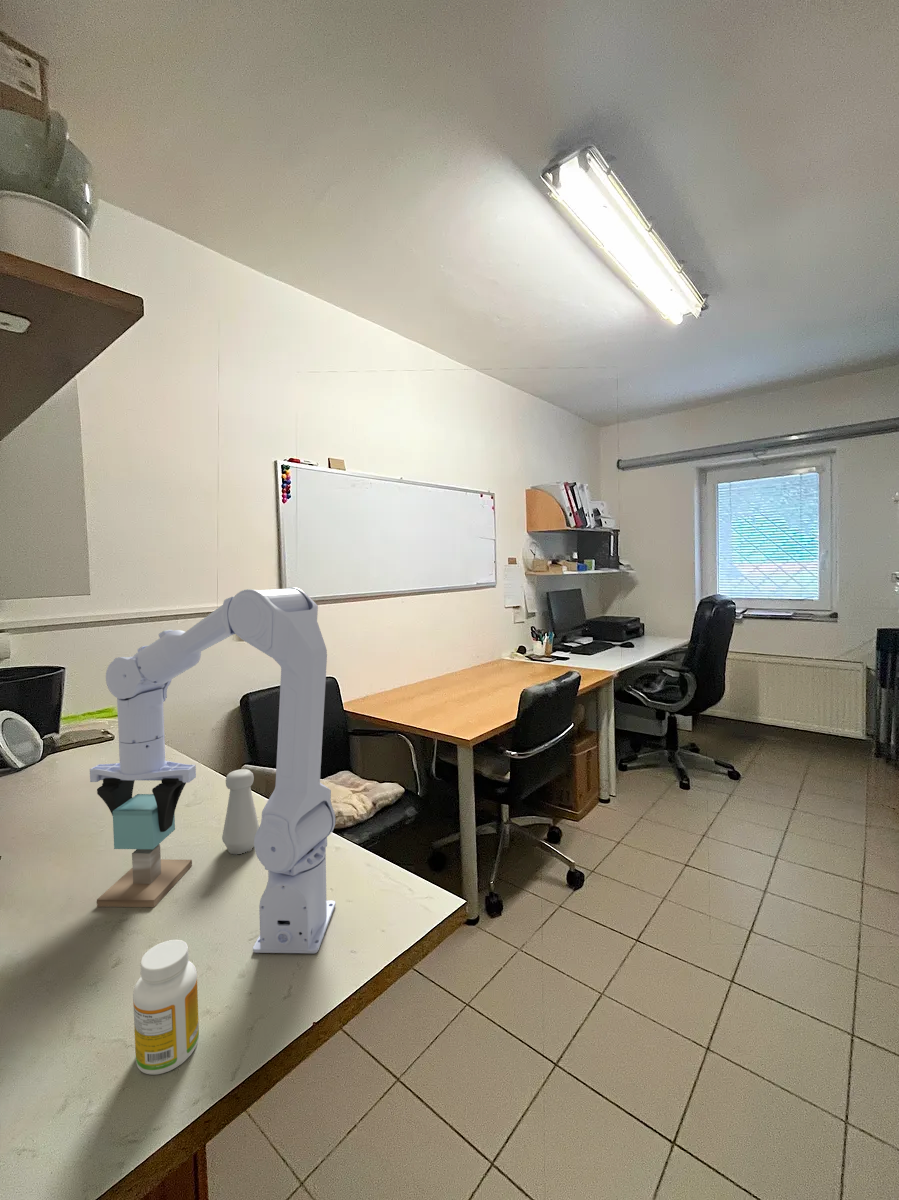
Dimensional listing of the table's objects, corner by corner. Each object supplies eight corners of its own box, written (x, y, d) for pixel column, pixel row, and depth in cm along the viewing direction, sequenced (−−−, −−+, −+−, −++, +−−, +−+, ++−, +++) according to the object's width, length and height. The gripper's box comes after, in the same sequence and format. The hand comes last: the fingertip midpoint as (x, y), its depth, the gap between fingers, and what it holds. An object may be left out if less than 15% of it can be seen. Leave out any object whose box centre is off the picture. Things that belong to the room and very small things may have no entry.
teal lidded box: (153, 849, 73) (151, 811, 73) (114, 849, 73) (112, 811, 73) (175, 829, 79) (173, 794, 78) (138, 829, 79) (137, 794, 78)
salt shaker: (246, 859, 83) (244, 780, 82) (214, 855, 84) (212, 777, 83) (266, 841, 89) (264, 766, 88) (236, 837, 90) (234, 764, 89)
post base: (154, 907, 71) (152, 868, 71) (97, 906, 71) (95, 867, 71) (191, 865, 81) (190, 831, 81) (141, 865, 81) (140, 831, 81)
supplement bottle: (182, 1016, 54) (179, 926, 53) (209, 1044, 51) (207, 949, 50) (125, 1055, 49) (121, 958, 49) (151, 1089, 46) (147, 985, 46)
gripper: (205, 728, 79) (207, 815, 80) (111, 728, 79) (115, 815, 80) (179, 744, 72) (183, 839, 73) (77, 743, 72) (81, 838, 73)
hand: (145, 828), depth 76 cm, fingers closed on teal lidded box, 6 cm apart
